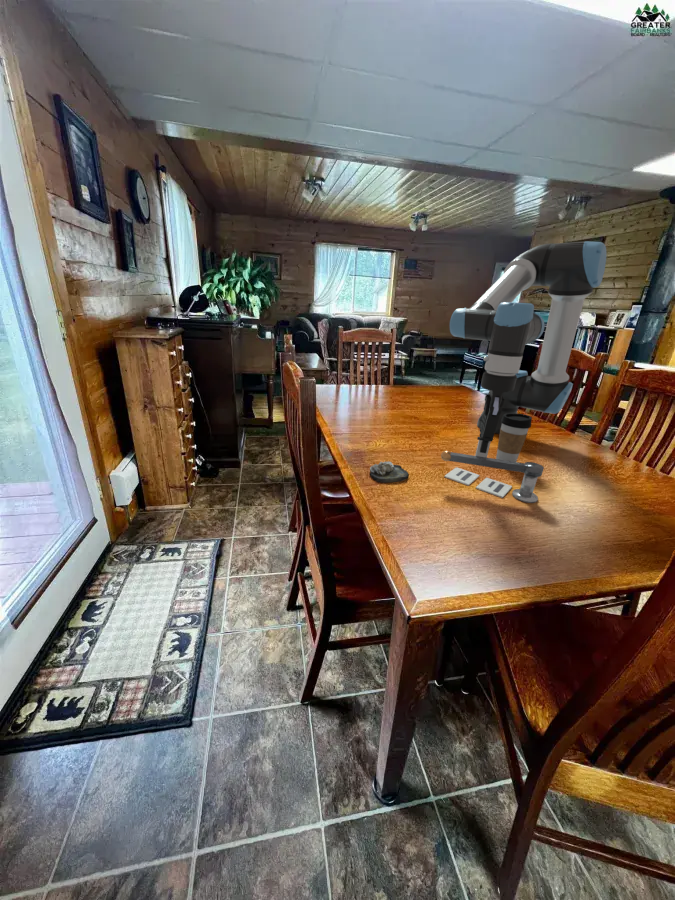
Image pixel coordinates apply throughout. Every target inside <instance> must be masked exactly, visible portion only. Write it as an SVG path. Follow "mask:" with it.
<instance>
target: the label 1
mask: <svg viewBox="0 0 675 900" xmlns="http://www.w3.org/2000/svg"><path fill="white" fill-rule="evenodd" d="M479 477H480V474H477V473H474V472H472V471H469V470H466V469H463V468H460V467H454V468H453V469H452V470H450V471H449V472H447V473H446V474H445V475H444V478H446V479H448V480H451V481H454V482H457V483H460V484H463V485H464V486H470V485H471V484H472V483H474V482H475V481H476V480H477V479H478V478H479Z"/></svg>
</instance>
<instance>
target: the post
mask: <svg viewBox="0 0 675 900" xmlns="http://www.w3.org/2000/svg"><path fill="white" fill-rule="evenodd" d="M523 474H524V475H523V478H522V481H521V485H520V488H517V489H516V488H515V489H513V490H512V493H511V496H513V498H514V499H516V500H518V501H521V502H523V503H527V504H535V503H537V502H538V500H539V497H538V495H537V494H536V493H534V490H535V487H536V483H537V481H538V478H539V477H533V476H529V475H526V474H525V473H523Z"/></svg>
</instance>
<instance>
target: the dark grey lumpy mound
mask: <svg viewBox="0 0 675 900" xmlns="http://www.w3.org/2000/svg"><path fill="white" fill-rule="evenodd" d="M409 475H410V474H409V472H408V471H407V470H406V469H404V468H403V467H402V466H401V465H399V464H393V462H392V461H380V462H379V463H378V464H377V463H375V464H372V465H371V466H370V468H369V476H370V478H371V479H372V480H374V481H375V482H377V483H381V484H383V483H384V484H385V483H386V484H387V483H398V482H399V483H400V482H403V481H406V480H407V479H408V478H409Z"/></svg>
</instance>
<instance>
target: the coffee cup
mask: <svg viewBox="0 0 675 900" xmlns="http://www.w3.org/2000/svg"><path fill="white" fill-rule="evenodd" d="M532 421H533V417H532V416H531V415H528V414H525V413H524V414H523V413H517V414H514V413H509V414H504V415H503V418H502V419H501V423H502V426H501V428H500V434H498V435H499V437H498V443H497V451H496V457H495V459H499V460H506V461H512V462H517V461H518V458H519V456H520V453H521V451H522V448H523V446H524V443H525V441H526V438H527V436H528V431H529V429H530V428H531V426H532Z"/></svg>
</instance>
